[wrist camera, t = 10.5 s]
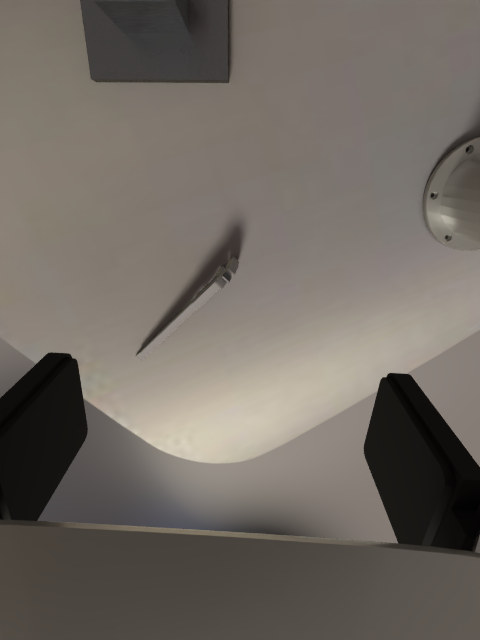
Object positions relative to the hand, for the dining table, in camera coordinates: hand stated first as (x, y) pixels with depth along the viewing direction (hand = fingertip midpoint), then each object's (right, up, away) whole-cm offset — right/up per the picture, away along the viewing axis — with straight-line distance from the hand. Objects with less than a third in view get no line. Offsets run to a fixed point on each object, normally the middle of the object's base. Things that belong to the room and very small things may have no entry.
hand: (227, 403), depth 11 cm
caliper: (-7, +4, +38) cm, 39 cm away
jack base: (-8, +34, +24) cm, 42 cm away
